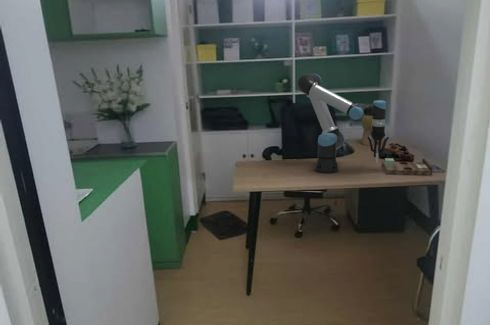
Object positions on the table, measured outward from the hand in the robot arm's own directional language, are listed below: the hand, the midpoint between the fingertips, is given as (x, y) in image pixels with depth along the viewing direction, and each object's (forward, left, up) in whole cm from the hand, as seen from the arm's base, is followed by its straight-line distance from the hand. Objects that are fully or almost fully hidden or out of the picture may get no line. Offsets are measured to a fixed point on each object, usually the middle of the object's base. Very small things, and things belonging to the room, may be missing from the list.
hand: (376, 162), depth 231 cm
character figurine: (+16, +22, -6) cm, 27 cm away
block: (+8, 0, -2) cm, 8 cm away
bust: (+7, +74, -5) cm, 75 cm away
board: (+18, 0, -5) cm, 19 cm away
